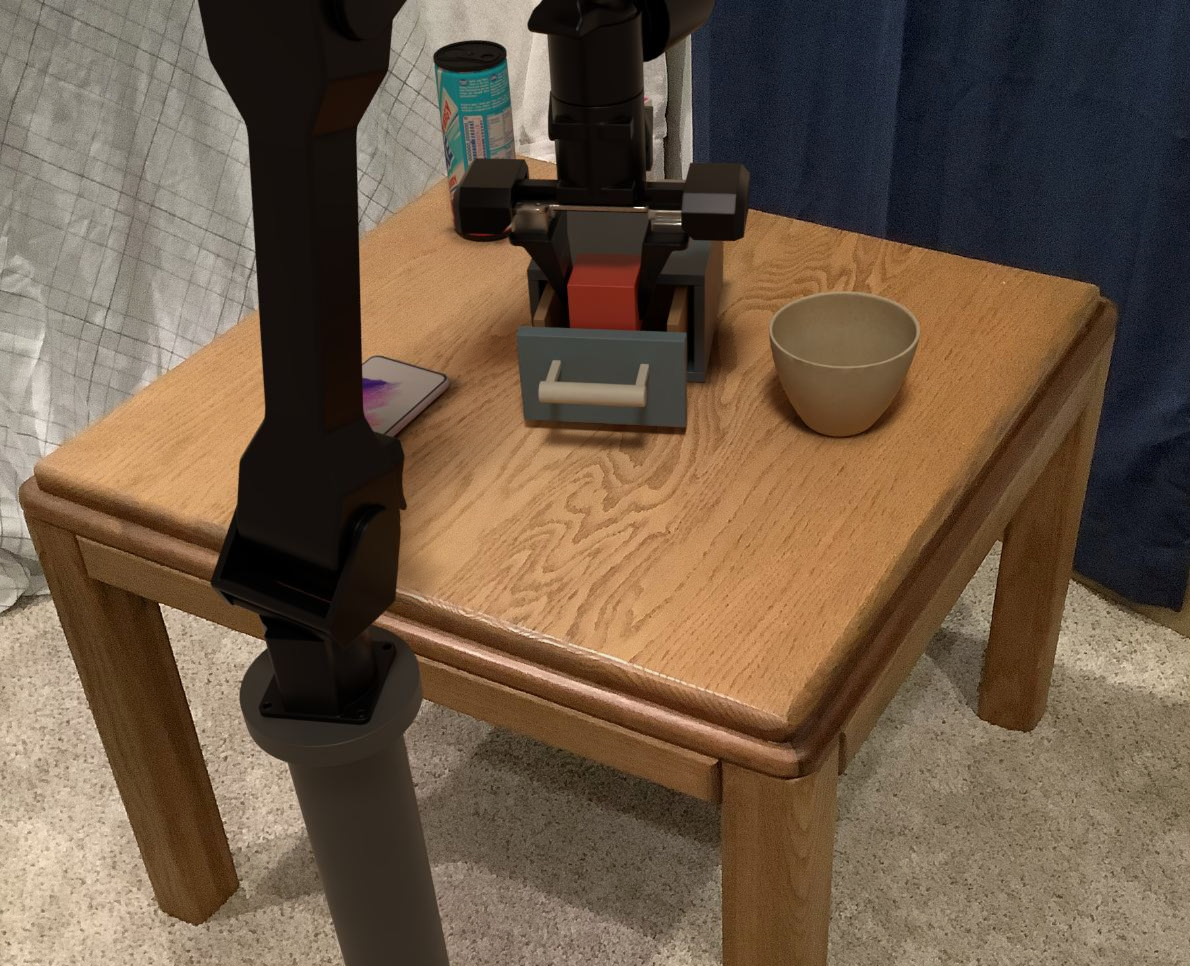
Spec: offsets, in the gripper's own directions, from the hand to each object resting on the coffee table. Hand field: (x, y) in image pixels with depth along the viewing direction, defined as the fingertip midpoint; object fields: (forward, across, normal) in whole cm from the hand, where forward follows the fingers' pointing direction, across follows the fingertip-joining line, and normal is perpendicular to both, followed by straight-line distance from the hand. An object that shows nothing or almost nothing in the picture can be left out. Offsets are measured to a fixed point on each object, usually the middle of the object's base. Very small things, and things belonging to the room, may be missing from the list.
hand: (608, 315), depth 98 cm
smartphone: (+7, +18, +4) cm, 20 cm away
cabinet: (+7, 0, -11) cm, 13 cm away
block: (+1, 0, 0) cm, 1 cm away
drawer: (+6, 0, -1) cm, 6 cm away
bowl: (+7, -16, 0) cm, 18 cm away
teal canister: (+7, +15, -27) cm, 32 cm away
